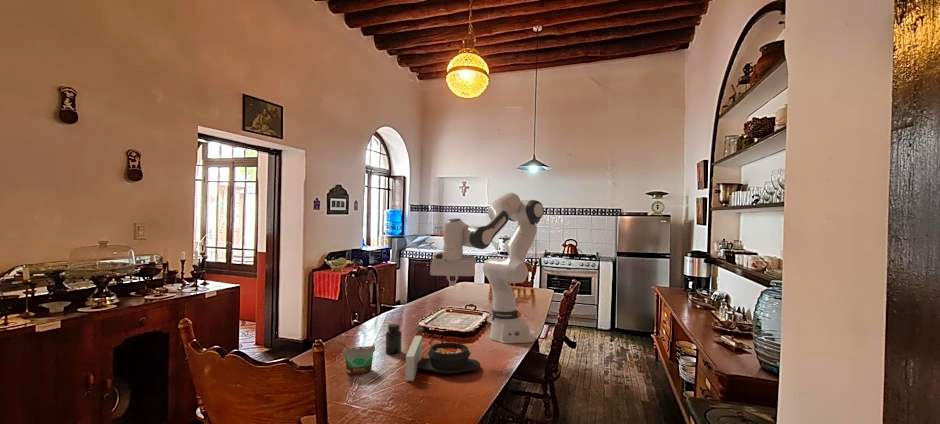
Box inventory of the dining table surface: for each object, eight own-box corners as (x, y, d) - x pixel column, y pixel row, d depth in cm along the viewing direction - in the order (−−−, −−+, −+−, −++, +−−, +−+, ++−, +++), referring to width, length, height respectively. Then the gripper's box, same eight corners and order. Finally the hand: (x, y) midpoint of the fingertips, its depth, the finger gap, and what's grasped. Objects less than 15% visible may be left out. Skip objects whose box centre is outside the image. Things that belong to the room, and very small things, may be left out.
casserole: (479, 361, 184) (480, 341, 184) (480, 378, 165) (481, 356, 165) (420, 360, 184) (420, 340, 184) (414, 377, 165) (414, 355, 165)
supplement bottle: (395, 348, 198) (395, 322, 197) (404, 352, 193) (404, 325, 193) (382, 352, 193) (382, 325, 192) (391, 356, 188) (392, 328, 188)
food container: (345, 379, 162) (346, 352, 162) (342, 373, 168) (342, 347, 168) (378, 373, 168) (379, 347, 168) (374, 368, 173) (374, 343, 173)
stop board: (421, 356, 188) (422, 335, 188) (413, 380, 162) (413, 356, 162) (414, 356, 188) (415, 335, 188) (405, 380, 162) (405, 356, 162)
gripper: (475, 254, 200) (475, 284, 200) (431, 253, 200) (430, 284, 200) (476, 256, 194) (475, 287, 194) (429, 255, 194) (429, 286, 194)
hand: (452, 285), depth 197 cm, fingers closed
